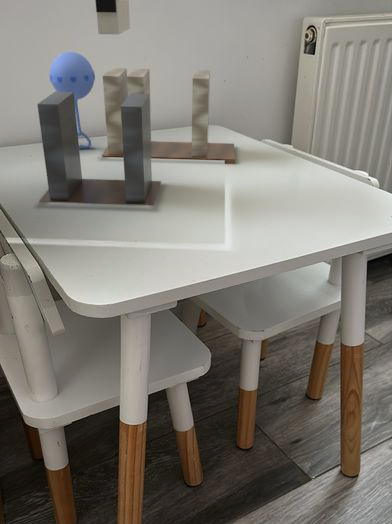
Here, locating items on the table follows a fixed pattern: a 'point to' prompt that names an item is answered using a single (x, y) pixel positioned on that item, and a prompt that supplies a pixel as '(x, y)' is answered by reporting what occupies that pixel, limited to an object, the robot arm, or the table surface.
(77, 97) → the baby rattle
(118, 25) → the white book
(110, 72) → the beige marbled rack
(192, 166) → the table surface
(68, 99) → the grey rack
